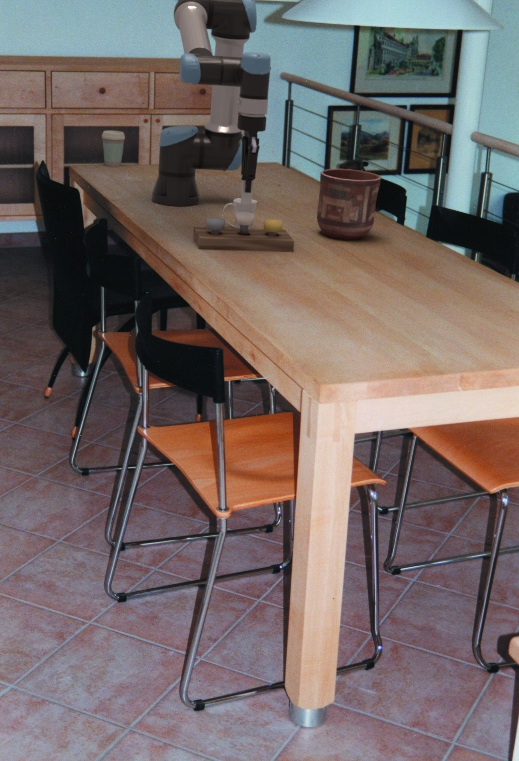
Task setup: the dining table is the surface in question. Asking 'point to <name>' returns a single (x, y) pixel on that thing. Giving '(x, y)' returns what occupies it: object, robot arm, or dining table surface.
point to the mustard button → (272, 226)
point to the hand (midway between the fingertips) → (246, 203)
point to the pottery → (347, 203)
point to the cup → (241, 209)
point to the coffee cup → (113, 147)
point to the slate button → (215, 224)
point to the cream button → (244, 221)
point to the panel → (243, 240)
